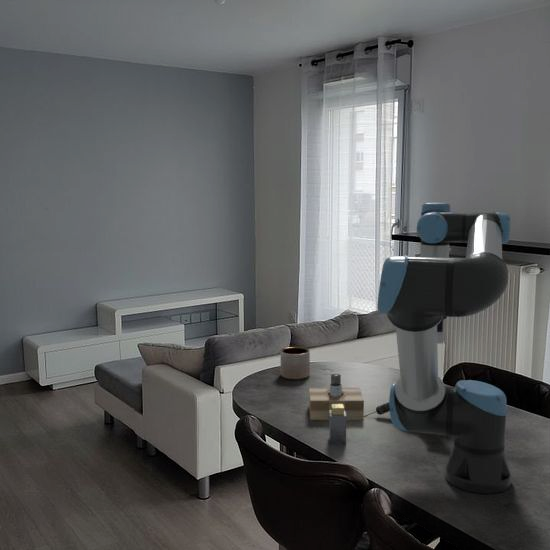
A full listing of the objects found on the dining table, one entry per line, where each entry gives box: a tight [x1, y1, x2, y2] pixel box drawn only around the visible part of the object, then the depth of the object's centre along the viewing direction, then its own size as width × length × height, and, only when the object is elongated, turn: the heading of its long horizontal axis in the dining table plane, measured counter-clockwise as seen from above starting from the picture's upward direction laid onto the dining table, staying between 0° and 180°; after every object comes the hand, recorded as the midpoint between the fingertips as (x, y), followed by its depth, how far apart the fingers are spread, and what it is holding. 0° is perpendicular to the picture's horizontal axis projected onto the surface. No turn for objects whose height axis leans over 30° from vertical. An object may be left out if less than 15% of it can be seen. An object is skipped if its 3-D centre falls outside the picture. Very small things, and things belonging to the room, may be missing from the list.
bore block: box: [308, 387, 365, 421], centre depth 200 cm, size 12×16×6 cm
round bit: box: [329, 373, 343, 397], centre depth 199 cm, size 4×4×12 cm
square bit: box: [328, 404, 347, 445], centre depth 178 cm, size 4×4×10 cm
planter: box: [279, 346, 311, 381], centre depth 237 cm, size 11×11×10 cm
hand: (432, 337), depth 177 cm, fingers open, 13 cm apart
